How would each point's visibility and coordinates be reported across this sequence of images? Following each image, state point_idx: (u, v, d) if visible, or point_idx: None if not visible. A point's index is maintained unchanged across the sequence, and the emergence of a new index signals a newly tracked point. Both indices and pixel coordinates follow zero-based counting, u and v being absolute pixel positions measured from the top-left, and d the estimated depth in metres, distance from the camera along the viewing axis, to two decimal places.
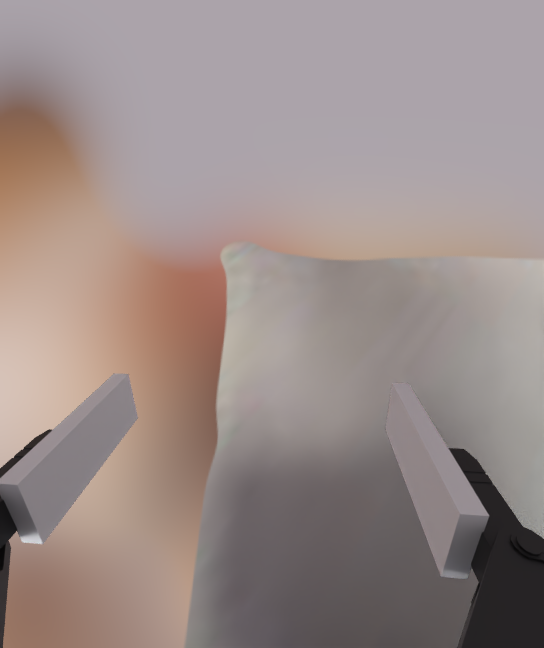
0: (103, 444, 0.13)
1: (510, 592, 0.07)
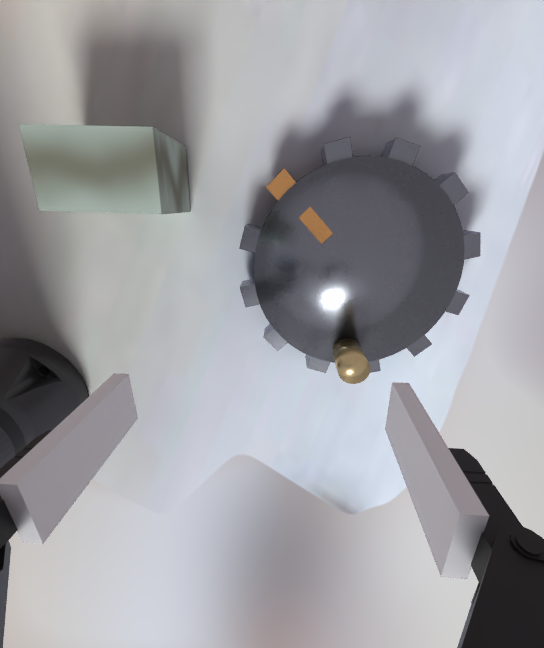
0: (103, 444, 0.13)
1: (510, 592, 0.07)
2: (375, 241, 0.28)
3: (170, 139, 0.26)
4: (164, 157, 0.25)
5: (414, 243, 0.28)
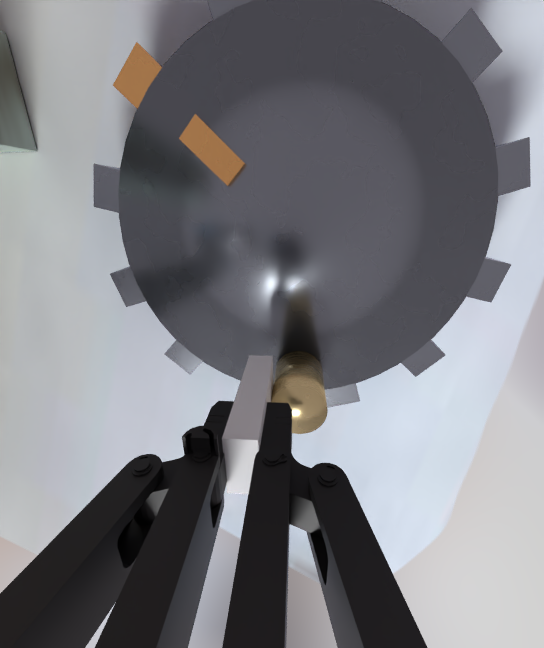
0: None
1: (264, 496, 0.09)
2: (324, 172, 0.15)
3: None
4: None
5: (397, 170, 0.15)
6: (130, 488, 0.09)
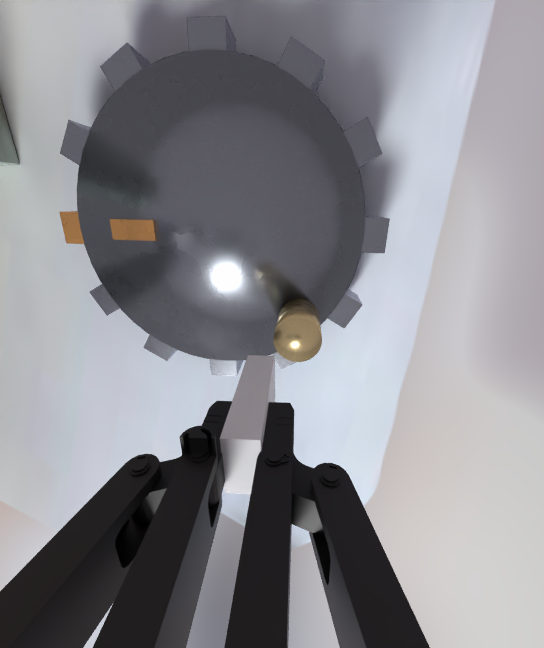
0: None
1: (267, 496, 0.09)
2: (196, 182, 0.20)
3: None
4: None
5: (234, 138, 0.19)
6: (128, 488, 0.09)
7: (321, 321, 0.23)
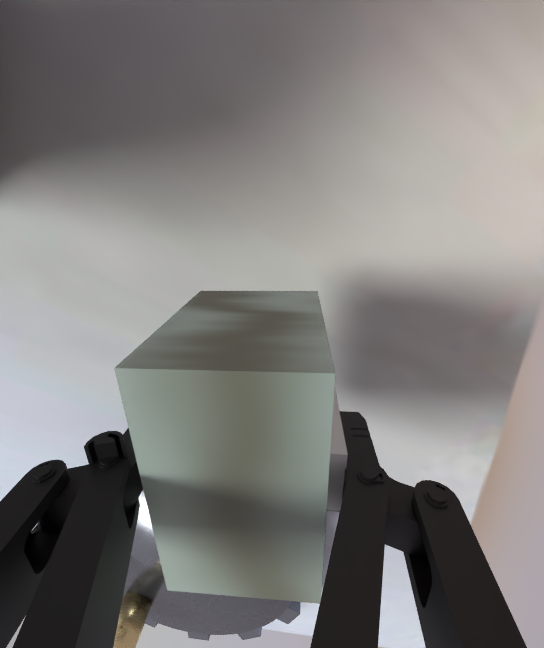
0: None
1: (358, 514, 0.08)
2: None
3: None
4: None
5: None
6: (32, 495, 0.09)
7: None
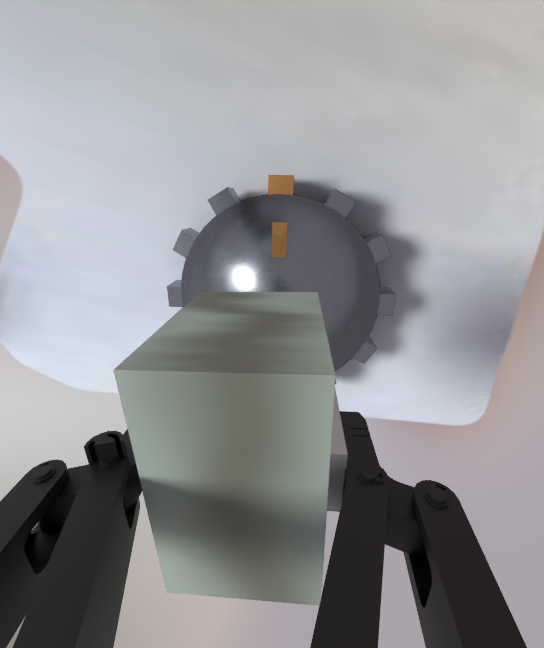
0: None
1: (358, 514, 0.08)
2: (309, 291, 0.30)
3: None
4: None
5: (332, 317, 0.31)
6: (32, 495, 0.09)
7: None
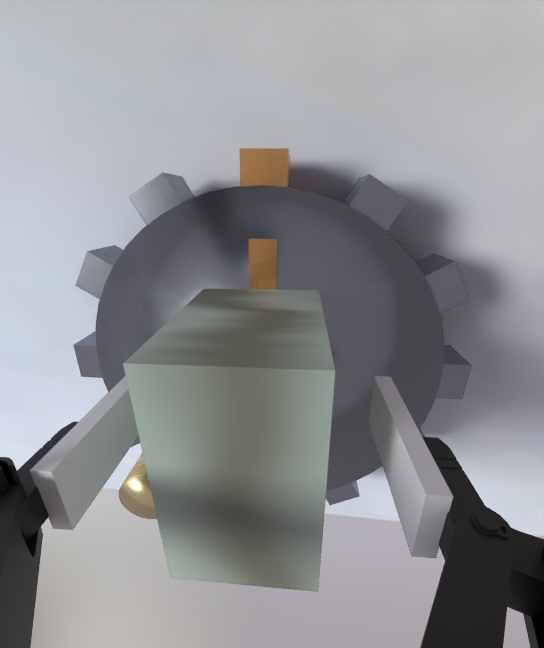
0: (124, 436, 0.14)
1: (471, 567, 0.07)
2: None
3: None
4: None
5: (356, 400, 0.18)
6: None
7: None
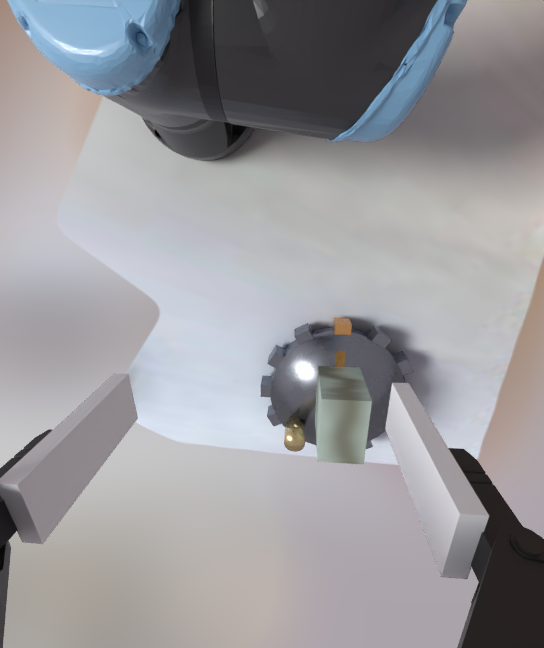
0: (103, 444, 0.13)
1: (510, 592, 0.07)
2: None
3: None
4: None
5: (372, 406, 0.46)
6: None
7: None
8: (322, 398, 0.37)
